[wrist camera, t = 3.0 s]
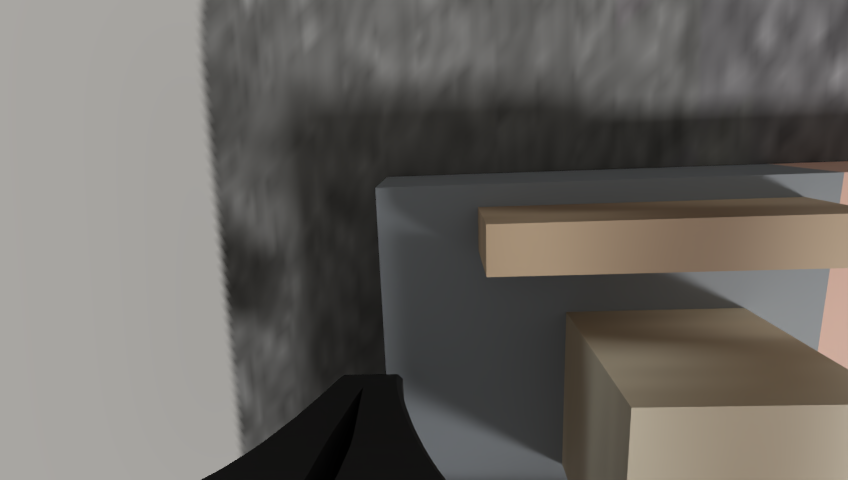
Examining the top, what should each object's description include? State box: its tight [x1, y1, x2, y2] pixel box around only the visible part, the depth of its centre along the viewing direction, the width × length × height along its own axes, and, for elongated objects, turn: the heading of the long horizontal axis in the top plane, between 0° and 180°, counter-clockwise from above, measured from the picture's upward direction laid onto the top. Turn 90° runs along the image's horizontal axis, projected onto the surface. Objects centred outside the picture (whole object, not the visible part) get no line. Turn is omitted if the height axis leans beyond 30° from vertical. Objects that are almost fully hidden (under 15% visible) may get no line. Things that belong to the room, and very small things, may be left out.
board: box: [375, 161, 848, 480], centre depth 13 cm, size 22×10×2 cm, turn 92°
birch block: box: [562, 308, 848, 480], centre depth 10 cm, size 4×4×4 cm
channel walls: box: [478, 197, 848, 277], centre depth 11 cm, size 7×9×2 cm
